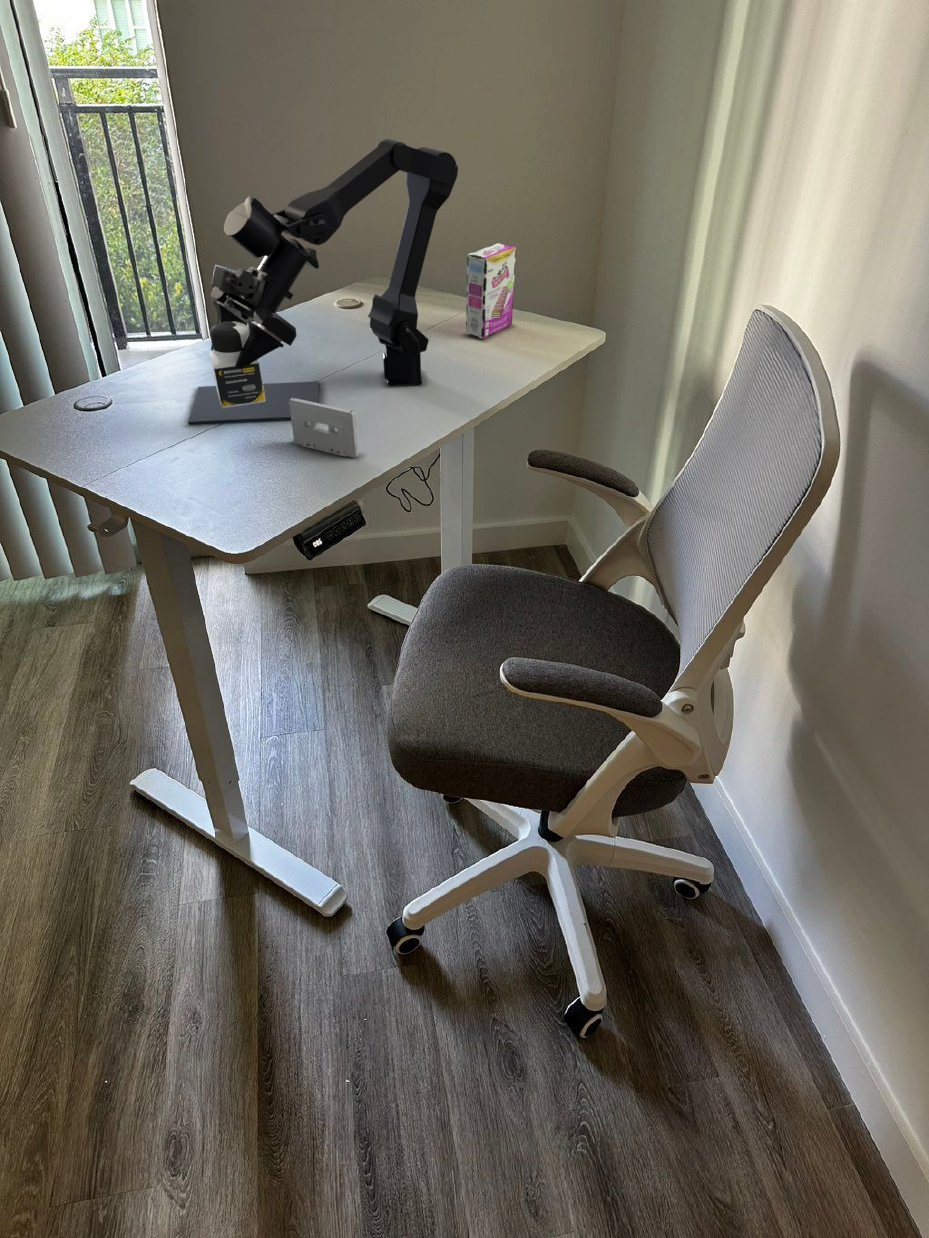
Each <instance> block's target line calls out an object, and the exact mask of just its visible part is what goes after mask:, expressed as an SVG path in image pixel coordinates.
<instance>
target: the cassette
mask: <svg viewBox="0 0 929 1238" xmlns="http://www.w3.org/2000/svg"><path fill="white" fill-rule="evenodd" d="M289 406H290V414H291V420H290V422H291V429H292V436H293V442H294V443H295V444H296V445H300V446H302V447H304V448H308V449H313V450H317V451H321V452H325V453H327V454H334V455H338V456H342V457H349V458H353V459H355V458H356V457H358V456H359V443H358V431H357V418H356V412H355V411H354V410H349V409H345V408H341V407H337V406H332V405H327V404H323V403H320V402H319V403H314V402H310V401H305V400H301V399H296V398H292V399H290V400H289ZM320 424H322V425H325V426H328V427H325V426H320Z"/></svg>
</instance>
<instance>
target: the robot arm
mask: <svg viewBox="0 0 929 1238" xmlns="http://www.w3.org/2000/svg"><path fill="white" fill-rule="evenodd" d="M399 171H400V172H403V173H406V178H405V184H406V190H407V195H408V206H407V211H406V216H405V220H404V222H403V227H402V230H401V235H400V239H399V243H398V247H397V250H396V255H395V258H394V259H395V260H394V263H393V267H392V271H391V275H390V280H389V283H388V286H387V288H386V289H385V291H384V292H383V293H382V294H381V295H379V294H377V293H376V294H374V295H373V297H372V303H371V308H370V311H369V313H368V315H367V317H368V318H370V319H369V328H370V329H371V331H372V333H373V334H374V336H376V337H377V339H378V342H379V344H381V345H384V346H385V352H384V353H382V361H383V376H384V379H385V380H386V382H387V386H388V387H395V386H396V387H397V386H416V385H417V386H419V385H423V378H422V361H421V358H422V357H421V356H422V355H421V353H423V352H426V351H427V348H428V344H429V338H428V337H427V336H426V335H424V334H423V333H422V332H421V331H420V330H419V329H418V328H417V327H418V320H419V319H418V317H419V312H418V306H417V301H416V294H417V290H418V286H419V282H420V278H421V275H422V270H423V266H424V263H425V259H426V255H427V251H428V247H429V244H430V240H431V235H432V232H433V229H434V224H435V221H436V217H437V213H438V211H439V210H440V208H441V207H443V205H444V204H445V202H446V201H447V200H449V198H450V196H451V194H452V191H453V189H454V186H455V183H456V181H457V179H458V174H459V166H458V164H457V162H456V158H454V156H453V155H452V154H451V153H450V152H447V151H443V150H440V149H435V148H430V147H427V146H421V147H417V148H415V147H412V146H410V145H407V144H406V143H405V142H403V141H399V140H395V139H390V138H386V139H383V140H381V141H380V142H379V143H378V144H377V146H376V147H374V149H373V150H371V151H370V152H369V153H367V154H366V155H365V156H364V157H363V158H361V159H360V160H359V161H357V162H356V163H355V164H354V165H353V166H351V167H349V168H348V170H346V171H345V172H344V173H342V174H341V175H340V176H338V177H337V178H336V179H334V180H333V181H332V182H331V183H330V184H328V185H327V186H324V187H323V188H320V189H316V190H312V191H309V192H306V193H305V194H303V195H300V196H298V197H296V198H295V199H293V200H291V201H290V202H289V203H288V204H287V205H286V207H285V208H283V209H281V210H279V211H275V212H272V213H271V212H270V211H269V210H268V209H266V208H265V206H264V205H263V204H262V202H261V201H259V200H258V199H257V198H255V197H253V196H251V195H248V196H247V198H246V199H245V201H244V202H241V203H239V204H238V205H237V206H236V207H234V208H233V210H231V211H230V212H229V213H228V214H227V217H226V219H225V221H224V225H223V231H224V234H225V235H226V236H227V237H228V238H230V239H231V240H232V241H233V242H235V243H236V244H237V245H239V246H240V247H241V248H242V249H243V250H244V251H246V252H247V253H249V254H250V255H251V256H252V257H253V258H255V259H259V258H262V257H263V259H262V261H261V262H260V265H259V266H258V267H255V266H251V267H249V268H248V270H247V269H246V270H245V269H243V268H241V267H240V268H237V270H236V269H232V268H229V267H225V266H222V265H218V264H215V265H214V269H213V275H212V279H211V284H210V286H211V287H213V289H212V291H211V292H210V294H209V296H210V298H213V299H214V300H213V299H212V305H213V306H214V308H215V312H216V314H217V317H216V324H215V325H217V324H219V323H222V322H227V321H236V322H240V323H243V324H245V325H246V326H247V327H248V329H249V336H248V338H247V340H246V342H245V345H244V347H243V349H242V351H241V353H240V355H239V357H238V359H237V362H236V364H235V366H236V367H237V368H239V369H243V368H245V367H246V366H248V365H249V364H251V363H253V362H254V361H256V360H257V359H258V360H259V359H261V358H263V357H264V356H266V355H267V354H270V353H271V352H273V351H275V350H277V349H279V348H284V346H285V344H286V345H287V346H289V347H291V346H292V344H293V343H294V342H295V340H296V338H297V336H298V335H297V328H296V326H294V325H293V324H291V323H290V322H289V321H288V320H286V319H285V318H283V316H281V315H279V314H278V313H277V312H278V310H279V309H280V307H281V306H282V304H283V302H284V300H285V299H287V300H289V301H291V300H292V298H293V296H294V294H293V293H292V292H291V289H292V288H293V286H294V284H295V283H296V280H297V279H298V277H299V276H300V274H301V272H302V271H303V269H304V268H305V266H306V265H307V266H309V267H311V268H314V269H316V270H317V269H319V268H320V264H319V260H318V257H317V250H316V249H314V248H312V247H305V246H304V245H302V244H301V243H300V242H299V240H301V241H304V242H305V243H306V242H307V243H309V244H310V245H311V244H312V245H314V246H320V245H323V244H325V243H327V242H328V241H329V240H330V239H331V238H332V236H334V234H335V233H336V232H337V231H338V230H339V229H340V228H341V225H342V223H343V221H344V218H345V216H346V215H347V213H348V212H349V211H350V210H352V209H353V208H354V207H355V206H356V205H358V204H359V203H361V202H362V201H363V200H364V199H365V198H366V197H369V195H370V194H372V193H373V192H374V191H375V190H377V189H378V188H379V187H381V185H383V184H384V183H385V182H387V181H388V180H389V179H391V177H393V176H394V175H395V174H396V173H398V172H399ZM283 234H287V235H288V236H290V237H291V236H292V237H294V238H288V239H287V238H285V236H284V235H283ZM295 238H296V239H295ZM297 239H299V240H297ZM248 319H252V320H253V322H255V323H256V324H255V323H253V322H252V321H250V320H248ZM246 321H247V322H246ZM282 342H283V343H284V344H283V343H282ZM212 350H213V347H212V345H211V347H210V351H212Z"/></svg>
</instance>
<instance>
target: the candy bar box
mask: <svg viewBox="0 0 929 1238" xmlns="http://www.w3.org/2000/svg"><path fill="white" fill-rule="evenodd" d="M516 255H517V247H516V246H512V245H510V244H505V243H504V244H502V243H496V244H492V245H488V246H486V247H484V248H481V249H479V250H476V251H473V252H470V253H467V255H466V256H467V257H466V258H467V261H466V262H467V263H466V308H465V311H466V314H465V315H466V316H465V335H466V336H469V337H473V338H476V339H478V340H479V339H480V340H485V339H487V338H489V337H491V336H493V335H496V334H497V333H499V332H501V331H503V330H505V329H507V328H509V327H511V326H512V325H513V313H514V312H513V311H514V295H515V293H514V291H515V277H516V276H515V274H516V273H515V272H516Z"/></svg>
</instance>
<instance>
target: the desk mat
mask: <svg viewBox="0 0 929 1238" xmlns="http://www.w3.org/2000/svg"><path fill="white" fill-rule="evenodd" d="M263 388H264V394H265V402H262V403H255V404H248V405H241V406H234V407H227V408H222V407H221V403H220V400H219V396H218V392H217V388H216V385H204V386H197V390H196V393H195V397H194V400H193V404H192V408H191V411H190V414H189V418H188V421H187V424H188V426H195V425H196V426H198V425H215V424H237V423H239V424H241V423H258V422H260V423H261V422H277V421H278V422H279V421H291V414H290V406H289V400H290V399H292V398H296V399H301V400H305V401H310V402H314V403H319V404H320V402H319V401H320V399H319V398H320V381H319V380H318V381H317V380H316V381H315V380H314V381H296V382H295V381H294V382H293V381H292V382H271V383H263Z"/></svg>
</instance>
